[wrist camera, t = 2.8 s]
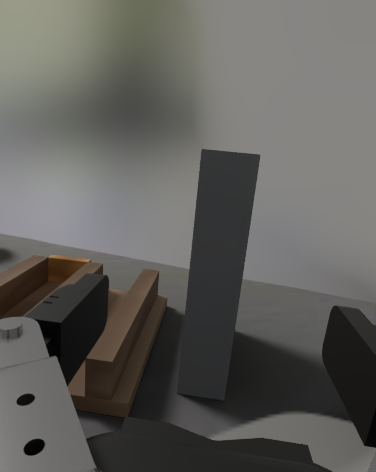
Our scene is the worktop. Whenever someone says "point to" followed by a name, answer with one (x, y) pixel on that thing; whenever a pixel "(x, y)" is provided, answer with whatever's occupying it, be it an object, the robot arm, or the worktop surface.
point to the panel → (216, 270)
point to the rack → (112, 339)
